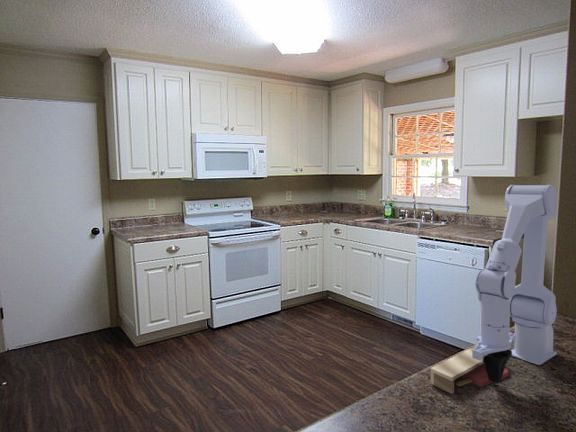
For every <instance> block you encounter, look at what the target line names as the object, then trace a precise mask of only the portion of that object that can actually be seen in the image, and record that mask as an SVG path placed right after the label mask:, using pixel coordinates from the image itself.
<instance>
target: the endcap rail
mask: <svg viewBox="0 0 576 432" xmlns="http://www.w3.org/2000/svg"><path fill="white" fill-rule="evenodd" d="M476 346H477V344H476V345H475V346H472V347H470V348H469V349H466V350H464V351H463V352H461V353H459V354H455V355H454V356H452V357H450V358H449V359H446V360H444V361H441V362H440V363H438V364H436V365H434V366H432V367H430V384H431V385H433V386H434V387H436V388H439V389H441V390H442V391H445V392H448V393H449V394H451V395H453V394H454V393H455V380H456V379H458V378H460V377H462V375H464V374H465V373H467V372H469V371H471V370H473V369H475V368H478V367H481V366H483V365H484V362H483V360H482V361H479V360H477V359H474V358H472V350H473V349H474V348H475V347H476Z"/></svg>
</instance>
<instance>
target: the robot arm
mask: <svg viewBox="0 0 576 432" xmlns="http://www.w3.org/2000/svg"><path fill="white" fill-rule="evenodd" d="M504 203H505V207H506V211H507V217H506V220H505V224H504V228H503V233H502V236H501V239H499V240H496V241H495V242H494V244H493V247H492V249H491V252H490V254H489V258H488V261H487V263H486V265H485V268H484V269H481V270H479V272H478V273H477V275H476V280H475V289H476V292H477V297H478V298H477V299H478V301H479V302H480V335H478V336H476V337H475V338H476V339H475V341H477V343H476V345H477V346H476V345H475V346H476V347H475V348H474V349H473V350H472V358H474V359H477V360H479V361H482V360H483V362H484V364H483V366H485V368H486V371H487V375H488V378H489V380H490V381H493V382H492V383H495V384H499V383H500V382H501V380H503V379H502V375H503V372H504V368H505V367H506V366H507V363H508V361H509V360H510V358H511V357H514V358H517V359H520V360H522V361H526V362H528V363H531V364H534V365H537V366H540V365H542V364H544V363H546V362H547V361H549V360H550V359H552V358H553V357H555V356H557V354H558V353H557V351H554V327H553V326H552V324H553V323H555V321H556V317H557V311H558V309H557V304H556V301H557V300H556V299H557V297H556V295H555V294H554V293H553V292H552V291H551V290H550V289H549V288H547V287H546V286H545V285H544V282H545V281H544V279H545V265H546V264H545V263H546V248H547V237H548V236H547V234H548V226H549V221H550V220H553V219H555V218H556V214H557V211H558V210H557V208H558V193H557V189H556V187H554V185H553V184H546V185H545V184H543V185H541V184H540V185H538V184H534V185H533V184H532V185H529V184H527V185H526V184H525V185H523V184H522V185H519V184H517V185H516V184H510V185H509V186H508V187H507V188H506V191H505V195H504ZM522 237H523V238H522ZM521 239H523V246H522V247H523V248H521V246H520V244H519V243H520V242H521ZM522 249H523V250H522ZM521 255H522V263H521V279H520V283H519V284H518V285H516V279H517V274H516V269H517V266H518V264H519V260H520V258H521ZM510 318H511V319H510ZM510 320H511V321H512V322H514V333H513V332H510V327H511V326H510V325H511V324H510V322H511V321H510ZM513 344H514V348H512V349H511V346H512V345H513Z"/></svg>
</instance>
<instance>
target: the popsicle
mask: <svg viewBox="0 0 576 432" xmlns="http://www.w3.org/2000/svg"><path fill="white" fill-rule="evenodd" d="M508 376H509V370H508V368H507V367H506V366H505V368H504V372H503V375H502V379H501V380H504V379H505V378H507V377H508ZM461 377H462V378H464V379H463V380H460V381H458V382H455V386H457V387H462V386H464V385H467V384H470V383H473V384H474V385H476V386H478V387H483V386H484V387H485V386H486V385H489V384H492V383H494V382H493V381H490V380H489V378H488V375H487V371H486V368H485V365H481V366H478V367H476V368H475V369H473V370H471V371H469V372H467V373H465V374H464V375H462V376H461Z"/></svg>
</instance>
